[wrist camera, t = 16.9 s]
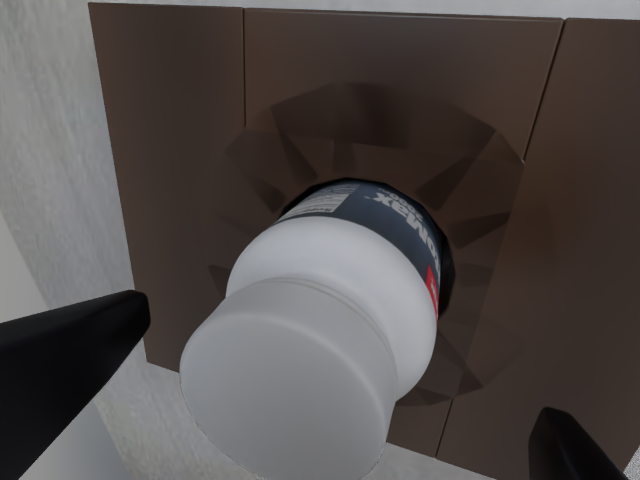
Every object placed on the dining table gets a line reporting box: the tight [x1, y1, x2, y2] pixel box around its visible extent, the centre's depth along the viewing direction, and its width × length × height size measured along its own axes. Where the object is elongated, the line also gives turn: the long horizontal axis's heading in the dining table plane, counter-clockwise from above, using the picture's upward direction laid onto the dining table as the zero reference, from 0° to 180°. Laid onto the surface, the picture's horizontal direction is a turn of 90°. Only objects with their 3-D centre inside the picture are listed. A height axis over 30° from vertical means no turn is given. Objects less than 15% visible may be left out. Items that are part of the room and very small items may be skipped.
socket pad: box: [88, 2, 640, 480], centre depth 13 cm, size 18×14×3 cm
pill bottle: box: [179, 177, 443, 480], centre depth 10 cm, size 5×5×9 cm
